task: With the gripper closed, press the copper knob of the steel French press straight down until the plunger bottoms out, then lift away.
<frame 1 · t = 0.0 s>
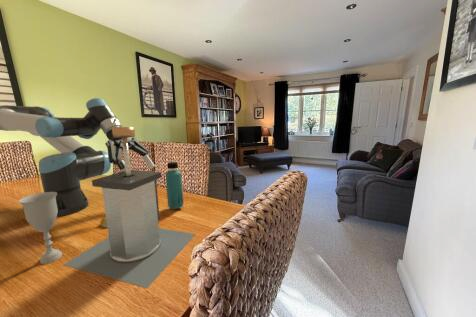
hand: (141, 171, 87), 15 cm above the table, tool tilted 35°, fingers open, 13 cm apart
beverage bottle: (176, 209, 85), on the table
slate mat: (137, 249, 58), on the table
plunger: (128, 170, 54), point 24 cm above the table, slide at 0.0 cm
press: (137, 247, 58), resting on slate mat
bread roll: (115, 223, 74), on the table
chalice: (51, 260, 54), on the table
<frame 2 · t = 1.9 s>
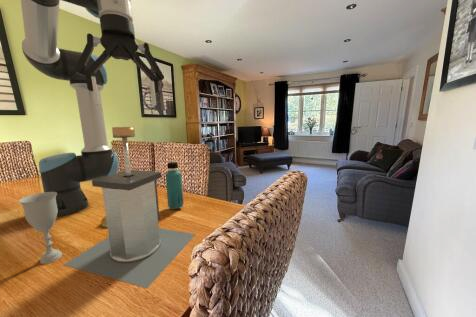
hand: (127, 105, 55), 41 cm above the table, tool pointing down, fingers open, 13 cm apart
nothing on the table moved.
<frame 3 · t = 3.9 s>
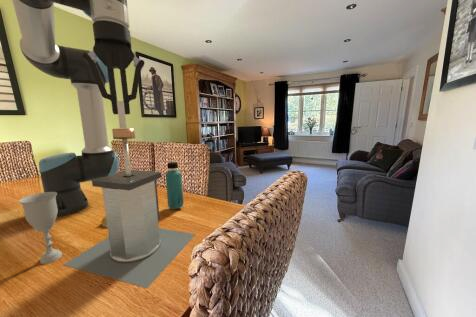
hand: (123, 127, 52), 35 cm above the table, tool pointing down, fingers closed
plunger: (128, 171, 54), point 23 cm above the table, slide at 0.4 cm, touching gripper
everything else where it was.
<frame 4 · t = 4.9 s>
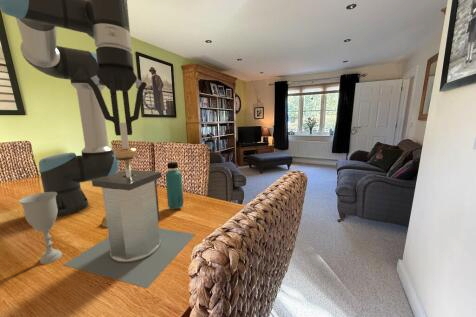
hand: (125, 147, 53), 30 cm above the table, tool pointing down, fingers closed
plunger: (130, 190, 55), point 18 cm above the table, slide at 5.6 cm, touching gripper
everything else where it was.
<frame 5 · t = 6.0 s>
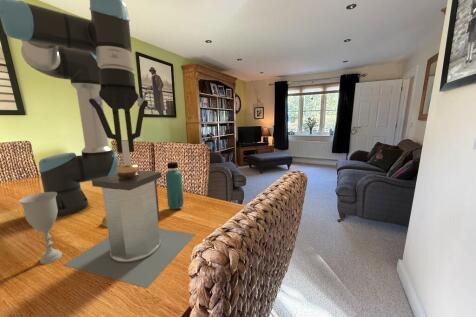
hand: (127, 164, 54), 25 cm above the table, tool pointing down, fingers closed
plunger: (132, 205, 56), point 14 cm above the table, slide at 10.1 cm, touching gripper
everything else where it was.
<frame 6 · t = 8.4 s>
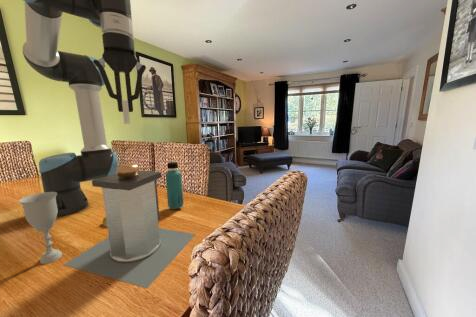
hand: (127, 123, 60), 36 cm above the table, tool pointing down, fingers closed
plunger: (132, 205, 56), point 14 cm above the table, slide at 10.1 cm
everything else where it was.
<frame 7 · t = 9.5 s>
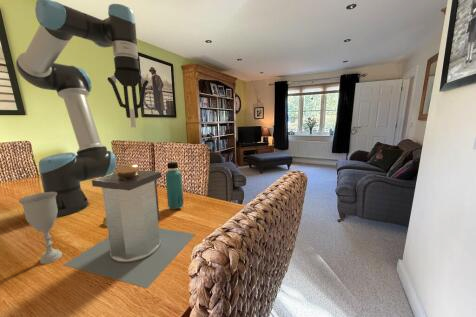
hand: (133, 127, 74), 34 cm above the table, tool pointing down, fingers closed
nothing on the table moved.
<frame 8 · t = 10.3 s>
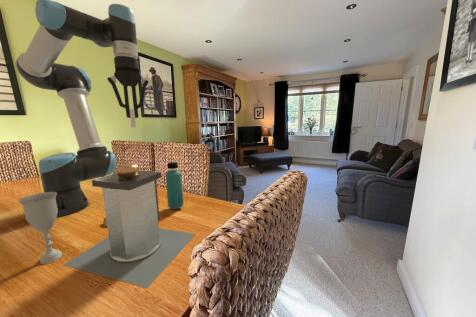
hand: (133, 127, 74), 34 cm above the table, tool pointing down, fingers closed
nothing on the table moved.
at the end: plunger slide at 10.1 cm; chalice moved 0.2 cm from its start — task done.
